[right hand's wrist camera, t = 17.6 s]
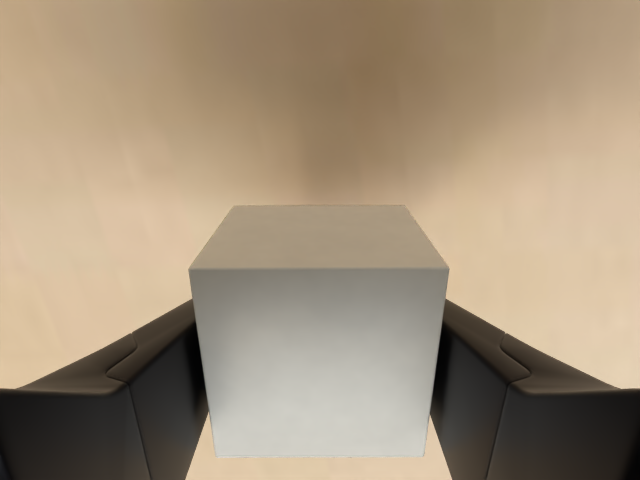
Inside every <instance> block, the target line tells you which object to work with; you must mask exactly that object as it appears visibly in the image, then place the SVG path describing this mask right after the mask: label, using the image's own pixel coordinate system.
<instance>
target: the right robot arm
mask: <svg viewBox="0 0 640 480" xmlns="http://www.w3.org/2000/svg"><path fill="white" fill-rule="evenodd" d="M208 412H209V408H208V401H207V394H206V387H205V380H204V373H203V366H202V360H201V353H200V346H199V339H198V332H197V325H196V318H195V311H194V304H193V299H191V300H189V301H187V302H185V303H184V304H182V305H180V306H178V307H176V308H175V309H173V310H171V311H169V312H168V313H166V314H164V315H162V316H160V317H159V318H157V319H155V320H153V321H151V322H150V323H148V324H146V325H144V326H143V327H141V328H139V329H137V330H135V331H134V332H132V334H131V333H130V334H128V335H126V336H125V337H123V338H121V339H119V340H117V341H116V342H114V343H112V344H110V345H108V346H106V347H104V348H102V349H100V350H98V351H96V352H94V353H92V354H90V355H88V356H86V357H84V358H82V359H80V360H78V361H76V362H74V363H72V364H70V365H68V366H65V367H63V368H61V369H59V370H57V371H55V372H53V373H51V374H49V375H47V376H45V377H42V378H40V379H38V380H36V381H34V382H32V383H30V384H27V385H25V386H23V387H20V388H17V389H0V480H185V479H186V476H187V473H188V470H189V467H190V464H191V461H192V458H193V455H194V452H195V450H196V447H197V444H198V441H199V438H200V435H201V432H202V429H203V426H204V424H205V421H206V418H207V415H208ZM430 415H431V418H432V421H433V424H434V427H435V430H436V433H437V436H438V439H439V442H440V445H441V448H442V451H443V454H444V456H445V459H446V462H447V465H448V468H449V471H450V474H451V477H452V480H640V389H620V388H617V387H614V386H612V385H609V384H607V383H605V382H603V381H600V380H598V379H596V378H594V377H592V376H590V375H588V374H586V373H584V372H582V371H580V370H578V369H576V368H573V367H571V366H569V365H567V364H565V363H563V362H561V361H559V360H557V359H555V358H553V357H551V356H549V355H547V354H545V353H543V352H541V351H539V350H537V349H535V348H533V347H531V346H529V345H527V344H525V343H524V342H522V341H520V340H518V339H516V338H514V337H513V336H511V335H509V334H507V333H506V334H505V332H504V331H502V330H500V329H498V328H497V327H495V326H493V325H491V324H490V323H488V322H486V321H484V320H483V319H481V318H479V317H477V316H475V315H474V314H472V313H470V312H468V311H467V310H465V309H463V308H461V307H460V306H458V305H456V304H454V303H452V302H451V301H449V300H447V299H445V305H444V312H443V319H442V327H441V334H440V342H439V349H438V356H437V364H436V371H435V378H434V386H433V393H432V401H431V408H430Z"/></svg>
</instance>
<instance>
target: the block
mask: <svg viewBox="0 0 640 480" xmlns="http://www.w3.org/2000/svg"><path fill="white" fill-rule="evenodd" d="M448 275H449V267H448V265H447V264H446V263H445V261H444V260H443V258H442V257H441V256H440V254H439V253H438V251H437V250H436V249H435V247H434V246H433V244H432V243H431V242H430V240H429V239H428V237H427V236H426V235H425V233H424V232H423V230H422V229H421V228H420V226H419V225H418V223H417V222H416V221H415V219H414V218H413V216H412V215H411V213H410V212H409V211H408V209H407V208H406V206H404V205H298V206H233V208H232V209H231V210H230V212H229V213H228V215H227V216H226V217H225V219H224V220H223V221H222V223H221V224H220V226H219V227H218V228H217V230H216V231H215V233H214V234H213V235H212V237H211V238H210V240H209V241H208V242H207V244H206V245H205V246H204V248H203V249H202V251H201V252H200V253H199V255H198V256H197V258H196V259H195V260H194V262H193V263H192V264H191V266H190V267H189V277H190V284H191V291H192V298H193V304H194V311H195V318H196V325H197V332H198V339H199V346H200V353H201V360H202V366H203V373H204V380H205V387H206V394H207V401H208V408H209V415H210V422H211V429H212V435H213V442H214V449H215V456H216V457H217V458H245V457H423V456H424V452H425V445H426V438H427V430H428V423H429V415H430V408H431V401H432V393H433V386H434V378H435V371H436V364H437V356H438V349H439V342H440V334H441V327H442V319H443V312H444V305H445V297H446V290H447V282H448Z"/></svg>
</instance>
